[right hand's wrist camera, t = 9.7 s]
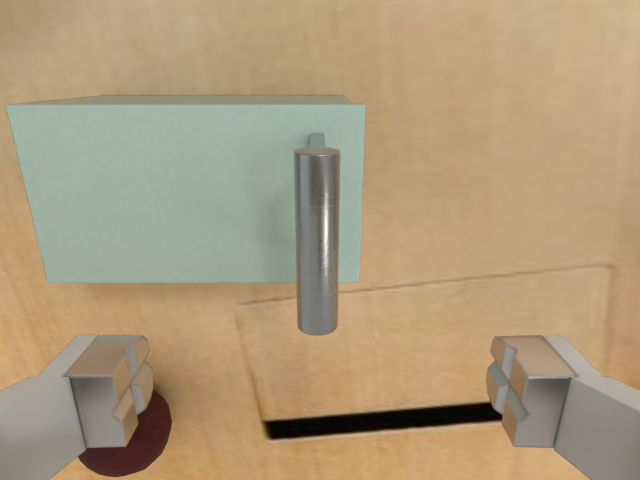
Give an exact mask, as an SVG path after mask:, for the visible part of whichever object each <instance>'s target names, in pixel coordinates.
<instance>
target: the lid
mask: <svg viewBox="0 0 640 480" xmlns="http://www.w3.org/2000/svg"><path fill="white" fill-rule="evenodd" d="M6 109H7V113H8V118H9V122H10V126H11V130H12V134H13V139H14V143H15V147H16V151H17V156H18V160H19V164H20V168H21V172H22V177H23V181H24V185H25V189H26V193H27V198H28V202H29V206H30V210H31V215H32V219H33V223H34V227H35V231H36V236H37V240H38V244H39V248H40V252H41V257H42V261H43V265H44V269H45V273H46V278H47V282H48V283H297V325H298V328H299V329H300V330H301V331H302V332H304V333H306V334H309V335H326V334H329V333H331V332H333V331H334V330H335V329H336V328H337V326H338V283H359V281H360V252H361V223H362V193H363V164H364V134H365V105H364V104H9V105H6Z"/></svg>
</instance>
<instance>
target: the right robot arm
mask: <svg viewBox="0 0 640 480" xmlns="http://www.w3.org/2000/svg"><path fill="white" fill-rule="evenodd" d="M149 352H150V351H149V346H148V341H147V339H146V338H145V337H144V336H133V335H79V336H75V337H74V338H73V339H72V340H71V341H70V343H69V344H68V345H67V346H66V347H65V348H64V349H63V350H62V351H61V352H60V353H59V354H58V355H57V356H56V357H55V358H54V359H53V360H52V362H51V363H50V364H49V365H48V366H47V367H46V368H45V369H44V370H43V371H42V372H41V373H40V374H39V375H38V376H37V377H29V378H26V379H24V380H22V381H20V382H18V383H16V384H14V385H11V386H9V387H7V388H5V389H3V390H1V391H0V480H49V479H51V478H52V477H53V476H54V475H56V474H57V473H58V472H59V471H61V470H62V469H63V468H64V467H66V466H67V465H68V464H69V463H71V462H72V461H73V460H74V459H76V458H77V457H78V456H79V455H80V454H82V453H83V452H84V451H85V450H86V448H101V447H126V446H127V444H128V442H129V440H130V438H131V437H132V435H133V433H134V431H135V429H136V427H137V425H138V419H137V415H138V414H139V413H141V412H142V411H144V410H145V409H146V408H147V406H148V404H149V402H150V400H151V395H152V391H153V370H152V367H151V366H150V365H149V364H148V363H147V362H146V361H145V359H146V357H147V355H148V354H149ZM490 352H491V354H492V355H493V357H494V359H495V361H494V362H493V363H492V364H491V365H490V366H489V367H488V370H487V379H486V382H487V392H488V396H489V399H490V402H491V404H492V406H493V408H494V409H495V410H496V411H498V412H499V413H501V414H502V415H503V419H502V425H503V427H504V429H505V431H506V433H507V435H508V437H509V438H510V440H511V442H512V444H513V446H514V447H538V448H554V450H555V451H556V452H557V453H558V454H560V455H561V456H562V457H563V458H565V459H566V460H567V461H568V462H570V463H571V464H572V465H573V466H575V467H576V468H577V469H578V470H580V471H581V472H582V473H583V474H584V475H586V476H587V477H588V478H589V479H591V480H640V391H639V390H637V389H635V388H633V387H631V386H628V385H626V384H624V383H622V382H620V381H618V380H616V379H614V378H611V377H603V376H602V375H601V374H600V373H599V372H598V371H597V370H596V369H595V368H594V367H593V366H592V365H591V364H590V363H589V361H588V360H587V359H586V358H585V357H584V356H583V355H582V354H581V353H580V352H579V351H578V350H577V349H576V348H575V347H574V346H573V345H572V344H571V342H570V341H569V340H568V339H567V338H566V337H564V336H562V335H560V334H558V335H534V336H495V337H494V339H493V341H492V345H491V351H490Z"/></svg>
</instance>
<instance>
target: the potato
mask: <svg viewBox="0 0 640 480" xmlns="http://www.w3.org/2000/svg"><path fill="white" fill-rule="evenodd" d="M137 419H138V425H137V427H136V429H135V431H134V433H133V435H132V437H131V438H130V440H129V442H128V444H127V446H126V447H101V448H86V450H85V451H84V452H83V453H82V454H80V455H79V456H78V457H79V459H80V461H81V462H82V463H83V464H84V465H85V466H86V467H87V468H89V469H90V470H92V471H94V472H95V473H97V474H100V475H104V476H109V477H120V476H125V475H129V474H133V473H136V472H139V471H141V470H144V469H146V468H147V467H148V466H149V465H150V464H151V463H152V462H154V461H155V460H156V459H157V458H158V457H159V456H160V455H161V454H162V452H163V450H164V448H165V446H166V444H167V442H168V438H169V434H170V430H171V423H172V420H171V415H170V410H169V406H168V404H167V402H166V401H165V400H164V398H163V397H162V396H161V395H159V394H157V393H156V392H154V391H152V395H151V400H150V402H149V404H148V406H147V408H146V409H145V410H144V411H142V412H141V413H139V414H138V415H137Z"/></svg>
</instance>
